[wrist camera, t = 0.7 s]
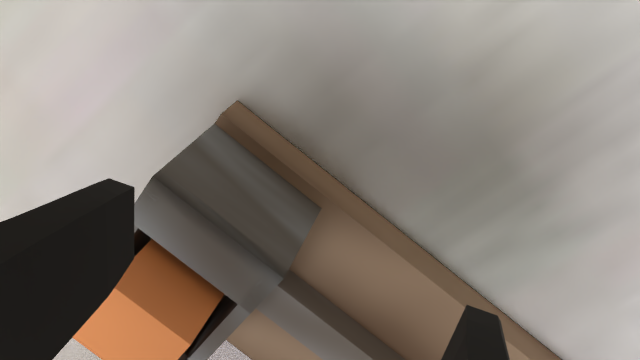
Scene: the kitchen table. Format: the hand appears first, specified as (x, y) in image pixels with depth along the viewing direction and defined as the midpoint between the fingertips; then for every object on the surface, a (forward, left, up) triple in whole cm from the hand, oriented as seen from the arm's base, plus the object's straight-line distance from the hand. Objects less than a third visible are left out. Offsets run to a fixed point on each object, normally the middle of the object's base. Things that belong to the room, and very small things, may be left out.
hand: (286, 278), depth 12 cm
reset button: (-8, +2, -6) cm, 10 cm away
